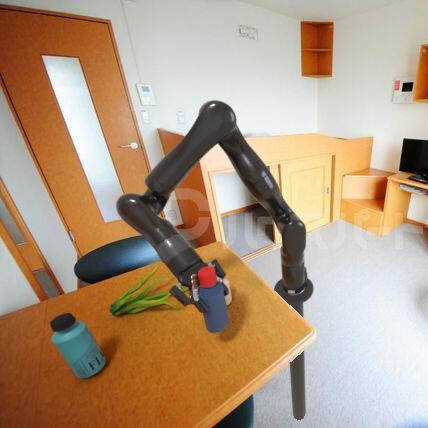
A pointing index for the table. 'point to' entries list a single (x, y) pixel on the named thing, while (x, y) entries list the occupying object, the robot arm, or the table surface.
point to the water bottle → (214, 307)
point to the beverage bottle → (77, 345)
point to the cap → (207, 276)
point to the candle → (229, 297)
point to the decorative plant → (140, 297)
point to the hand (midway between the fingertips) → (217, 302)
